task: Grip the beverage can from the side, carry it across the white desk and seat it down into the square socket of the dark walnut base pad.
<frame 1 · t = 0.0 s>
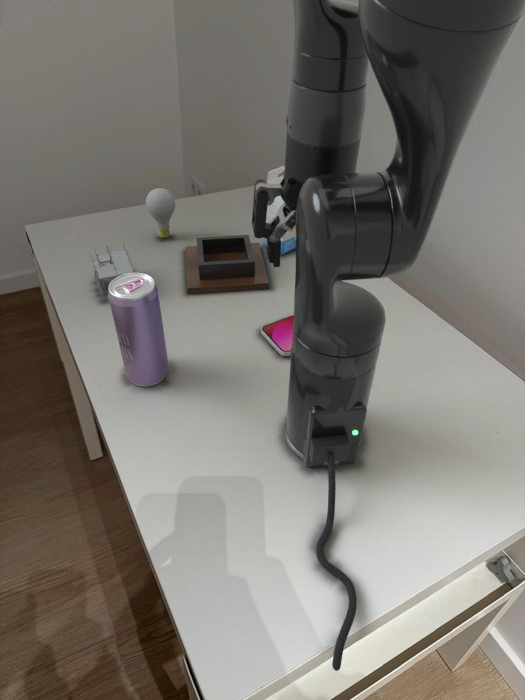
hand: (310, 261, 63), 17 cm above the table, tool pointing down, fingers open, 8 cm apart
ink box: (288, 244, 101), on the table
building frame: (116, 287, 89), on the table
smartphone: (311, 330, 81), on the table
beverage can: (148, 374, 73), on the table
light bulb: (165, 238, 102), on the table
base pad: (225, 269, 93), on the table
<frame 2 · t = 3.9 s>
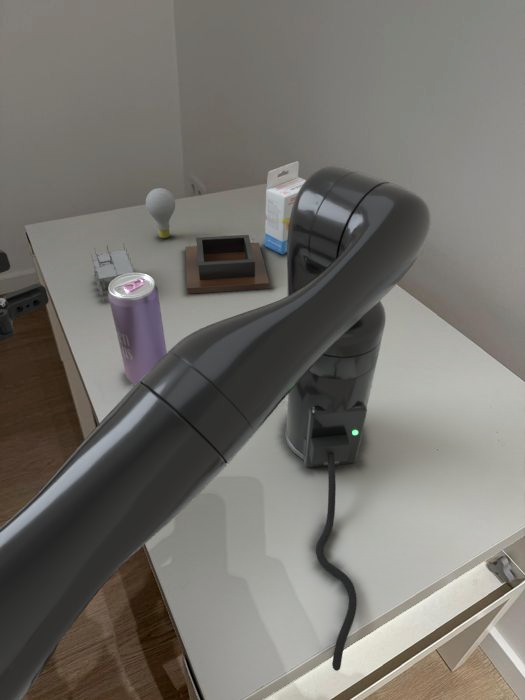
hand: (25, 275, 52), 21 cm above the table, tool horizontal, fingers open, 8 cm apart
nothing on the table moved.
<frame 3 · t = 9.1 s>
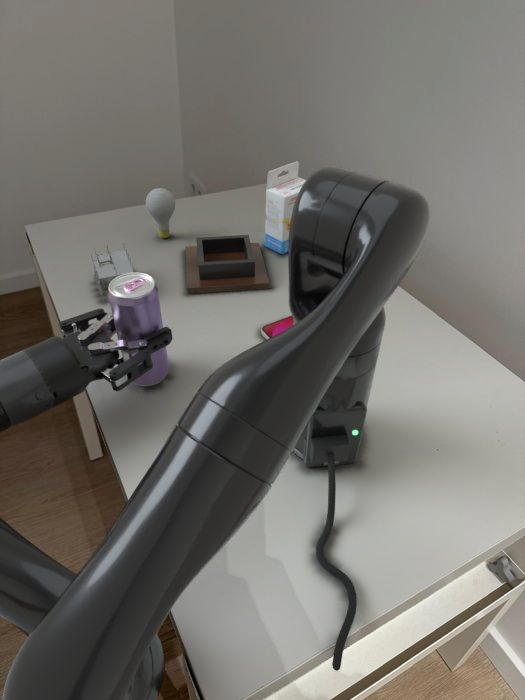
hand: (155, 322, 69), 8 cm above the table, tool horizontal, fingers closed on beverage can, 6 cm apart
beverage can: (148, 374, 73), on the table, touching gripper
everything else where it was.
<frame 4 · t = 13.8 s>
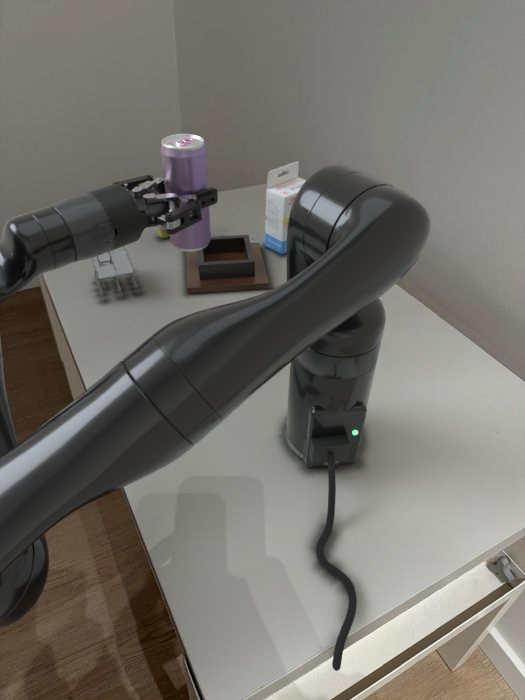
hand: (201, 187, 73), 20 cm above the table, tool horizontal, fingers closed on beverage can, 6 cm apart
beverage can: (191, 244, 77), point 12 cm above the table, touching gripper
everything else where it was.
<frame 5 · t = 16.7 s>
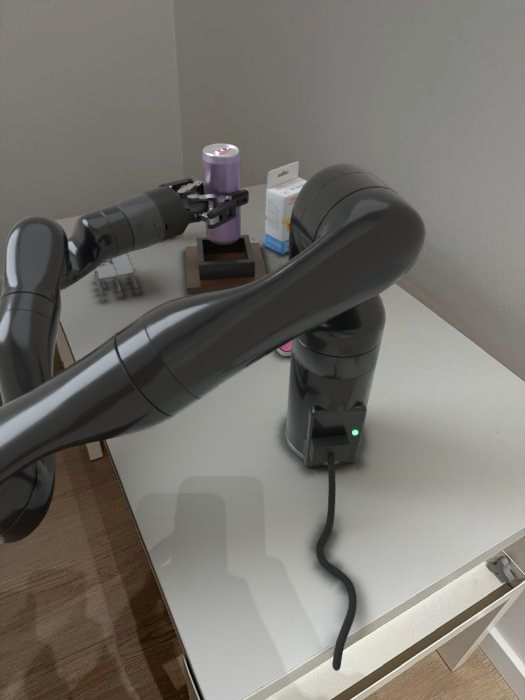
hand: (234, 189, 85), 14 cm above the table, tool horizontal, fingers closed on beverage can, 6 cm apart
beverage can: (223, 238, 89), point 6 cm above the table, touching gripper
everything else where it was.
when the fingers open (9 cm above the table, at t = 18.7 s): beverage can stays where it is, resting on base pad.
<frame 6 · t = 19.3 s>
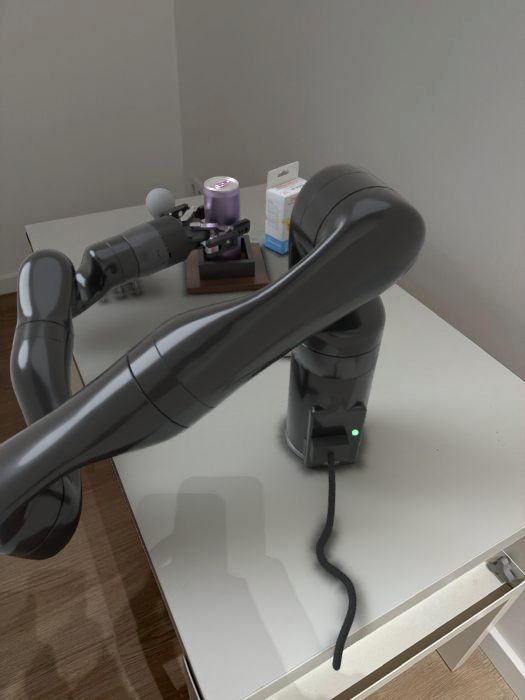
hand: (232, 215, 88), 10 cm above the table, tool horizontal, fingers open, 8 cm apart
beverage can: (224, 264, 93), point 1 cm above the table, touching base pad
everything else where it was.
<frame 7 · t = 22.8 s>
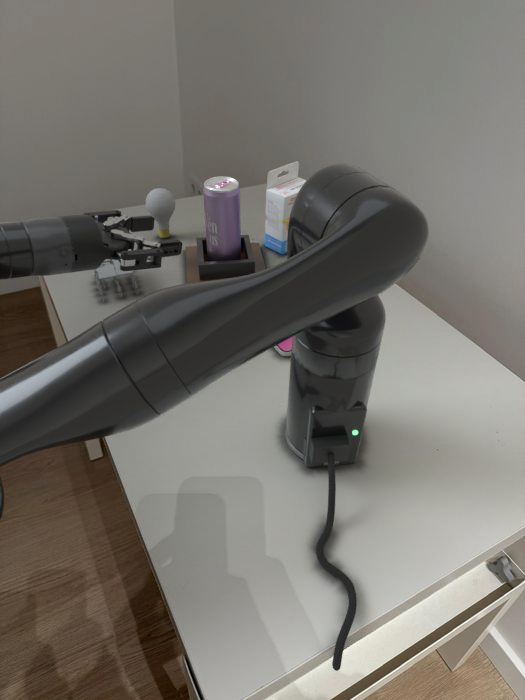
hand: (166, 234, 79), 12 cm above the table, tool horizontal, fingers open, 8 cm apart
nothing on the table moved.
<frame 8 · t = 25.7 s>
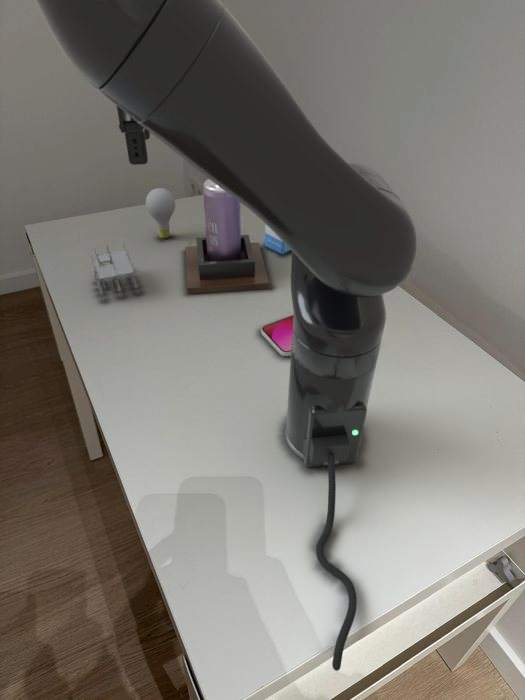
hand: (140, 150, 66), 26 cm above the table, tool pointing down, fingers open, 8 cm apart
nothing on the table moved.
at the end: beverage can 0.1 cm off-centre on the base pad, point 1.0 cm above the base pad's base; beverage can tilted 0°; the gripper is holding nothing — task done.
